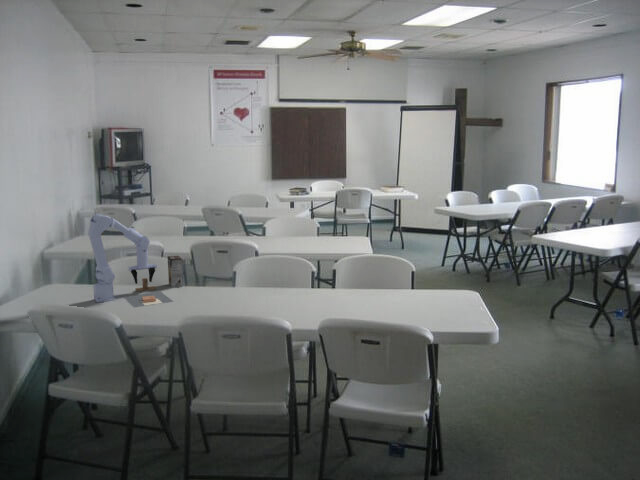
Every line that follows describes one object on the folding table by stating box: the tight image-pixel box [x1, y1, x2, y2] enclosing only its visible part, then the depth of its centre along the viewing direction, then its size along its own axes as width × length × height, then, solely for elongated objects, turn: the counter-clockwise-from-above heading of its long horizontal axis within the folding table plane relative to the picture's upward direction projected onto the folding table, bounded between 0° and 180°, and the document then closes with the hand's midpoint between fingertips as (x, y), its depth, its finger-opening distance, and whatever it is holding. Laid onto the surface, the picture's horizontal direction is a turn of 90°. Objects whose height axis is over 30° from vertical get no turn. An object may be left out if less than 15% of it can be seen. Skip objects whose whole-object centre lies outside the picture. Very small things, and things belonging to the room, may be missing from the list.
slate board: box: [122, 291, 174, 308], centre depth 316 cm, size 20×22×1 cm
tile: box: [142, 296, 156, 303], centre depth 314 cm, size 6×6×2 cm
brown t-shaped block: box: [135, 277, 156, 292], centre depth 333 cm, size 10×2×7 cm, turn 122°
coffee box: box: [167, 255, 184, 288], centre depth 344 cm, size 9×6×16 cm
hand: (143, 282), depth 331 cm, fingers open, 7 cm apart
